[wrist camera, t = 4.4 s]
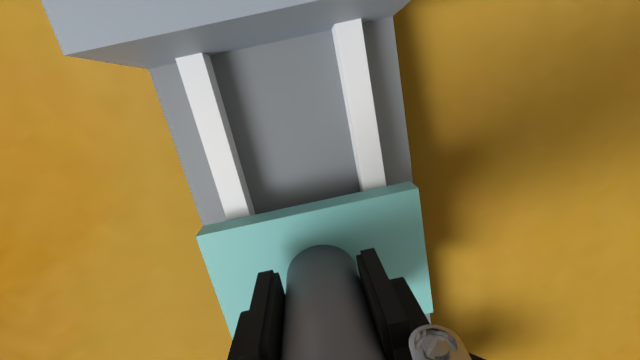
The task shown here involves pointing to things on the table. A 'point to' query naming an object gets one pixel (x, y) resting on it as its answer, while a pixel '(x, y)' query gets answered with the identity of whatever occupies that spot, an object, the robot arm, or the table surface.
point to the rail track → (260, 92)
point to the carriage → (321, 266)
